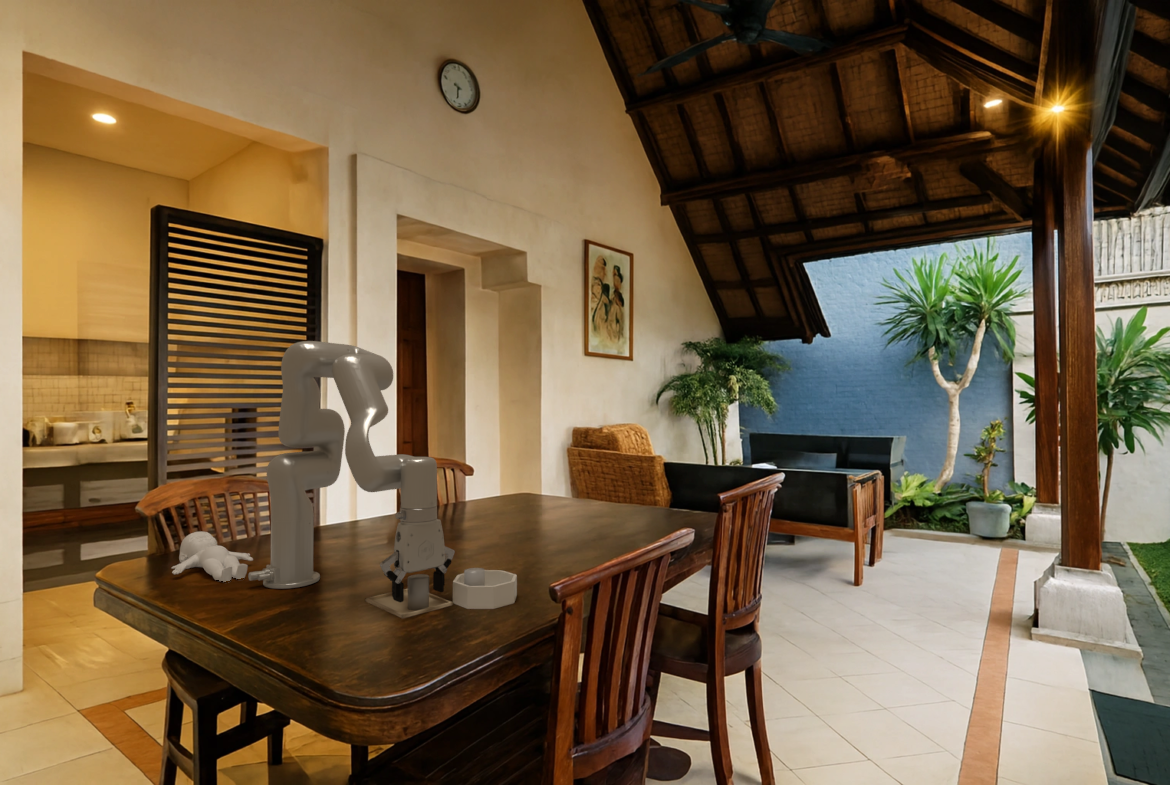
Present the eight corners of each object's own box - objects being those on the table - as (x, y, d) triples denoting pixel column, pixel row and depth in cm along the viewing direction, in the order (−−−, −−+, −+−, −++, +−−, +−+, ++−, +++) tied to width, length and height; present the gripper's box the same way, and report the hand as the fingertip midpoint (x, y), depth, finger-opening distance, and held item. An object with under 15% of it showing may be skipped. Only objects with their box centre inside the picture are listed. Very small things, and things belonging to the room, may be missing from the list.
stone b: (414, 611, 133) (414, 581, 133) (403, 607, 136) (403, 576, 137) (432, 607, 137) (433, 576, 137) (421, 602, 140) (422, 573, 140)
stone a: (489, 598, 141) (488, 569, 141) (474, 603, 137) (473, 573, 137) (475, 595, 143) (474, 566, 144) (460, 600, 140) (459, 570, 140)
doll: (192, 565, 150) (151, 532, 169) (190, 603, 151) (149, 566, 170) (275, 551, 165) (228, 522, 184) (273, 586, 165) (226, 553, 184)
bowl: (478, 614, 133) (478, 590, 133) (442, 600, 142) (442, 578, 142) (528, 600, 142) (528, 578, 142) (491, 588, 152) (491, 567, 152)
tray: (402, 620, 129) (402, 615, 129) (365, 602, 141) (365, 598, 141) (452, 606, 138) (452, 602, 138) (413, 591, 149) (413, 587, 149)
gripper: (390, 522, 128) (390, 609, 128) (463, 512, 140) (463, 590, 140) (372, 518, 133) (372, 601, 133) (443, 508, 146) (444, 584, 145)
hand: (418, 595), depth 136 cm, fingers open, 9 cm apart
